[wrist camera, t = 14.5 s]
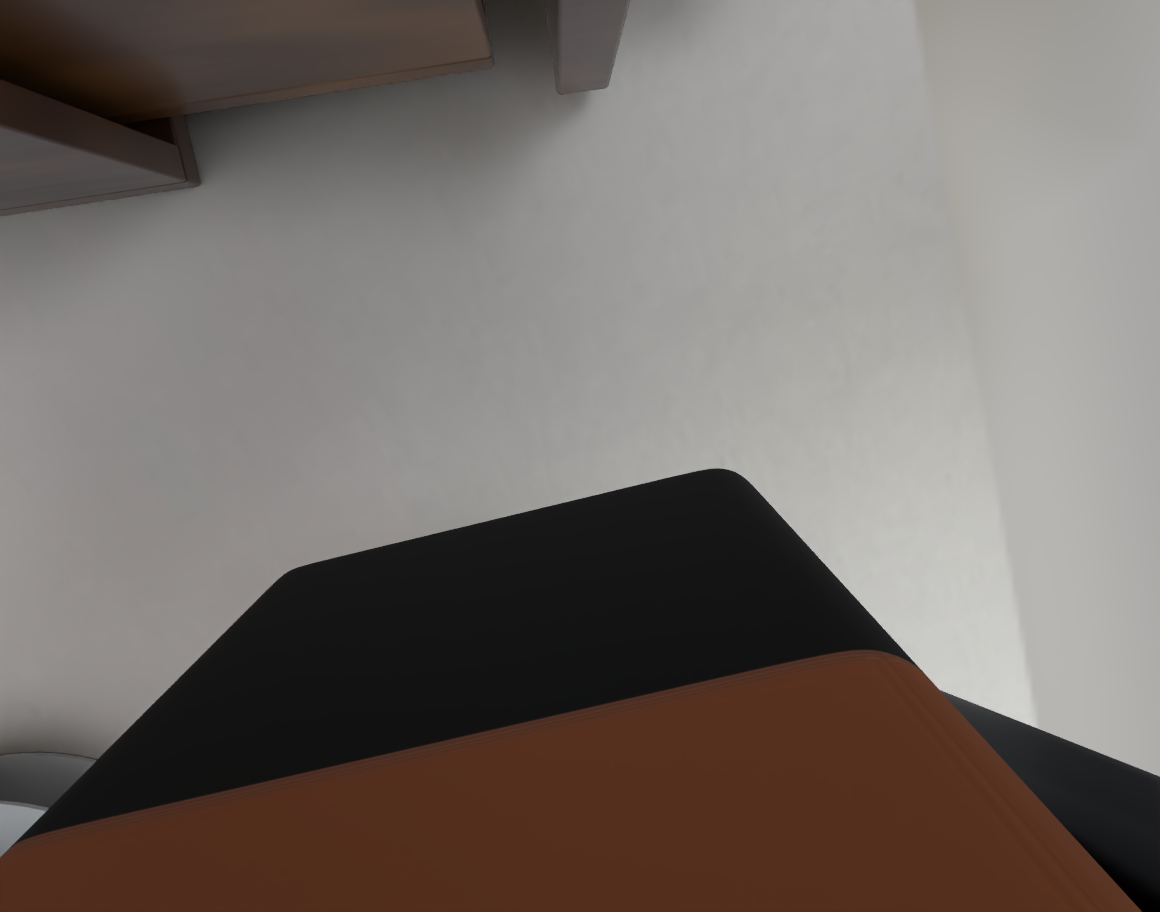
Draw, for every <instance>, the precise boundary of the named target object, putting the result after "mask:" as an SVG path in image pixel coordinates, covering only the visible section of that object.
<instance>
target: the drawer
mask: <svg viewBox="0 0 1160 912" xmlns="http://www.w3.org/2000/svg"><path fill="white" fill-rule="evenodd" d="M629 2H630V0H544V4H545V11H546V18H547V25H548V32H549V39H550V46H551V53H552V60H553V67H554V74H555V81H556V88H557V92H558V94H561V95H563V94H570V93H576V92H583V91H590V90H596V89H603V88H606V87H608V85H609V81H610V77H611V73H612V69H613V66H614V62H615V58H616V54H617V50H618V46H619V42H620V38H621V34H622V30H623V26H624V22H625V18H626V14H627V10H628V6H629ZM492 67H494V58H493V52H492V46H491V39H490V33H489V27H488V20H487V14H486V8H485V1H484V0H0V79H2V80H5V81H7V82H10V83H13V84H15V85H18V86H21V87H23V88H26V89H28V90H31V91H34V92H36V93H39V94H42V95H44V96H47V97H49V98H52V99H55V100H57V101H60V102H63V103H65V104H68V105H71V106H73V107H76V108H78V109H81V110H84V111H86V112H89V113H92V114H94V115H97V116H99V117H102V118H105V119H107V120H110V121H113V122H115V123H118V124H125V123H132V122H138V121H145V120H152V119H158V118H165V117H171V116H178V115H185V114H191V113H198V112H204V111H211V110H217V109H224V108H231V107H237V106H244V105H250V104H257V103H264V102H270V101H277V100H283V99H290V98H297V97H303V96H310V95H316V94H323V93H329V92H336V91H343V90H349V89H356V88H362V87H369V86H376V85H382V84H389V83H395V82H402V81H409V80H415V79H422V78H428V77H435V76H441V75H448V74H455V73H461V72H468V71H474V70H481V69H488V68H492Z"/></svg>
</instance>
